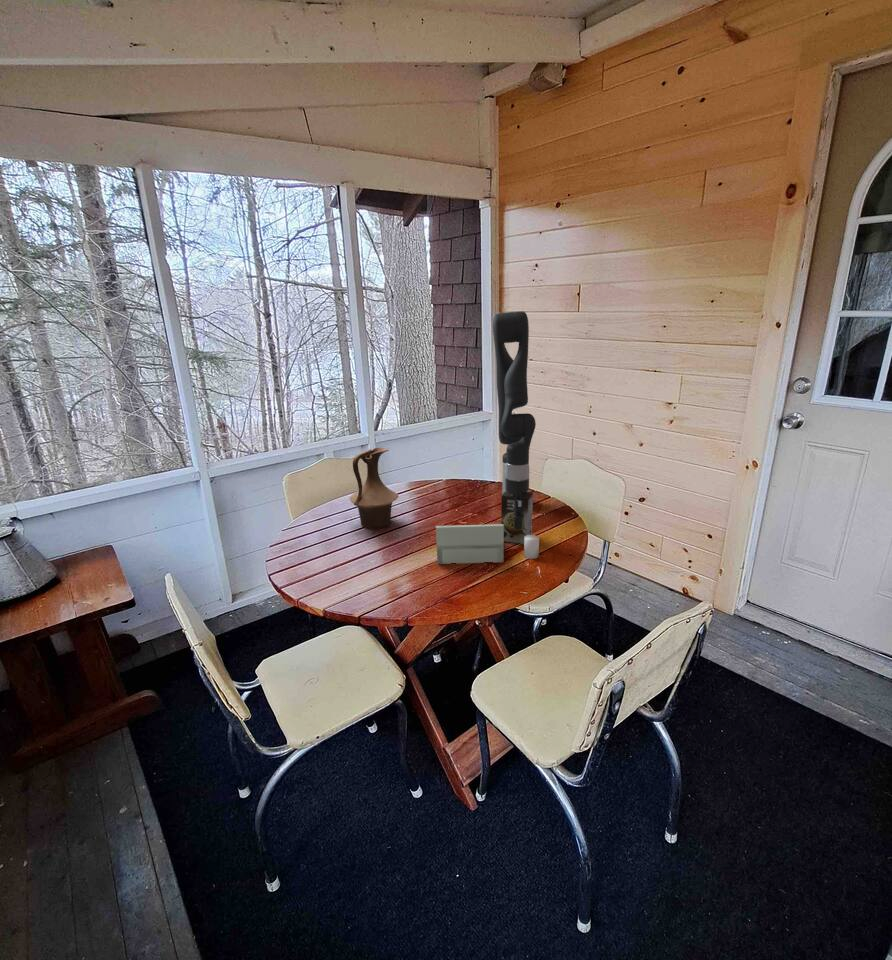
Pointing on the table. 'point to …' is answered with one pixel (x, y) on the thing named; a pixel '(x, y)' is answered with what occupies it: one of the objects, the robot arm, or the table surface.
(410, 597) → the table surface
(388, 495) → the pitcher
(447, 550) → the mint green corner panel
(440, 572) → the table surface
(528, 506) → the coffee box
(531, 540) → the white rounded capsule
